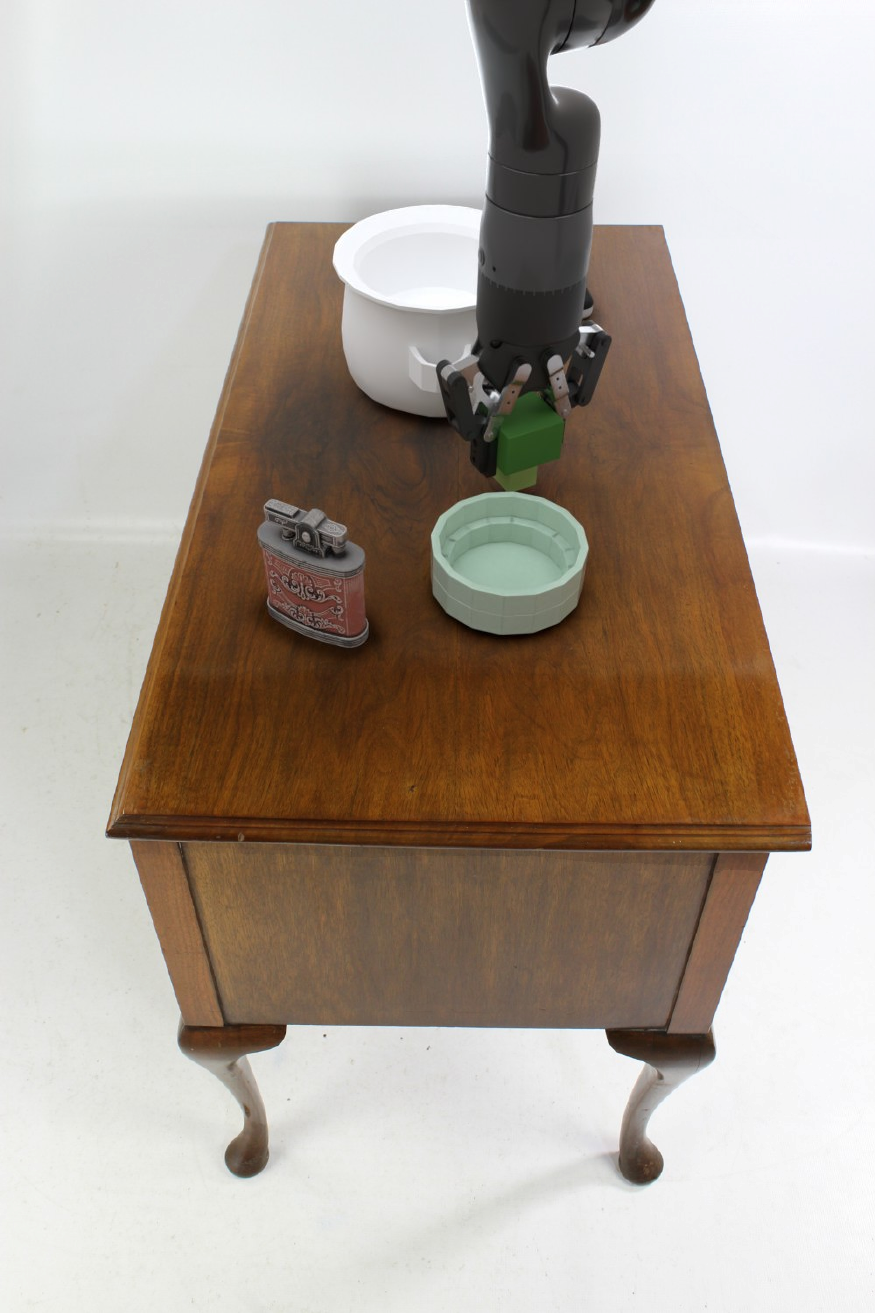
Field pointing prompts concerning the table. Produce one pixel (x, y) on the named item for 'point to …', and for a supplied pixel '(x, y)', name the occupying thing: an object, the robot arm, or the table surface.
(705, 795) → the table surface
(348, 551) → the lighter
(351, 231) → the pot
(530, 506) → the bowl
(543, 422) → the broccoli
